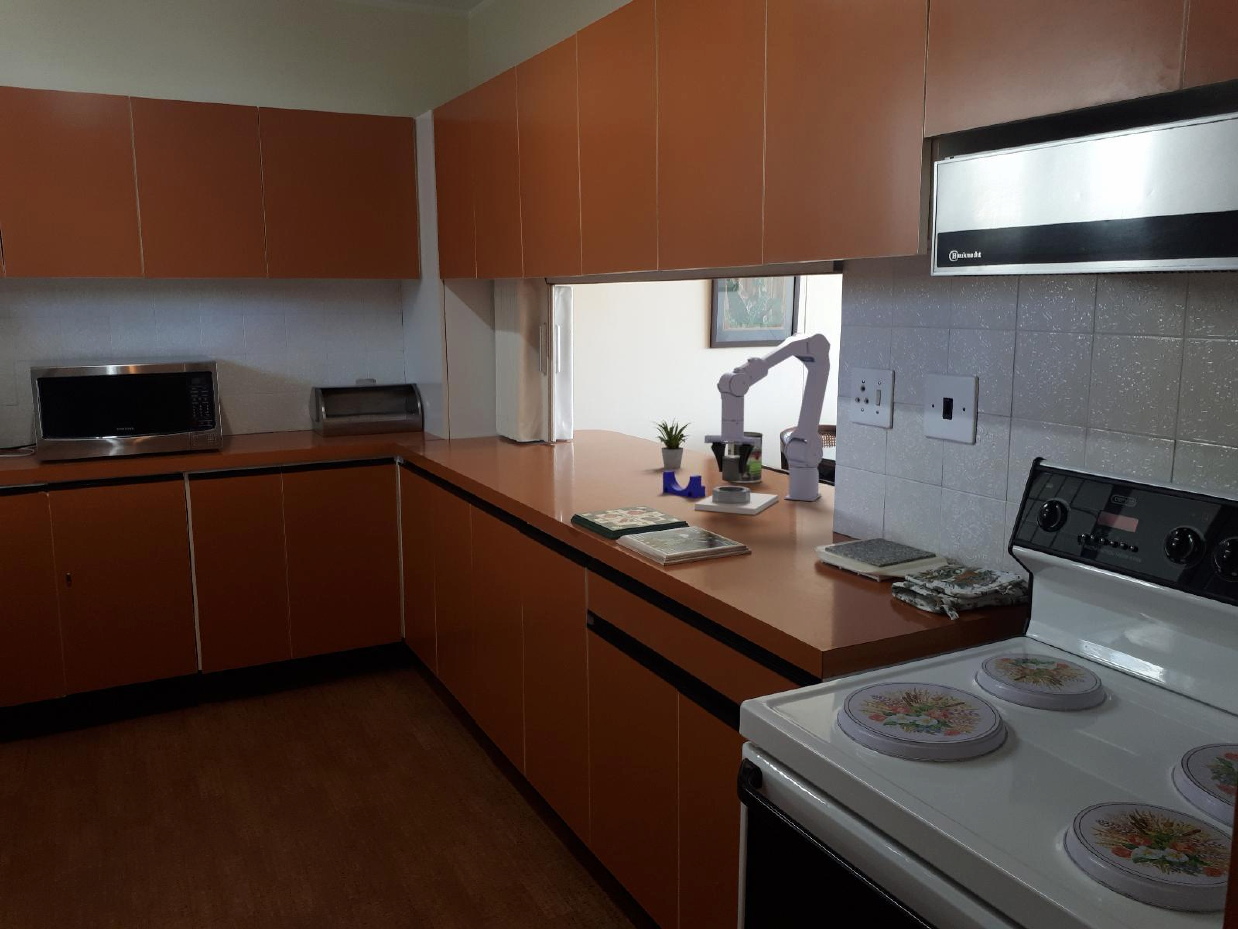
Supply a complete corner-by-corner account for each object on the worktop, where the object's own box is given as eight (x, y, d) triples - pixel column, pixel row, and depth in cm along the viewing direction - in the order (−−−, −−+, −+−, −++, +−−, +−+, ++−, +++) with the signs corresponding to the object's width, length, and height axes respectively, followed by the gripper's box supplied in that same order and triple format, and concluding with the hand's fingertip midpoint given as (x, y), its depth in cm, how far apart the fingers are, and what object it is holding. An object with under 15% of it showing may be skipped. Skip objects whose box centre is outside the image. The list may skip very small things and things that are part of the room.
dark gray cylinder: (725, 477, 260) (726, 454, 259) (744, 478, 258) (744, 455, 257) (719, 480, 255) (719, 457, 254) (737, 481, 253) (738, 458, 252)
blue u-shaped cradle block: (705, 496, 271) (705, 475, 270) (693, 498, 268) (693, 477, 267) (674, 490, 280) (674, 469, 279) (662, 492, 277) (662, 471, 276)
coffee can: (769, 480, 295) (770, 433, 292) (745, 484, 288) (745, 436, 286) (743, 476, 302) (744, 430, 300) (719, 480, 296) (720, 433, 294)
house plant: (640, 469, 315) (640, 418, 313) (652, 463, 328) (652, 414, 326) (684, 471, 311) (684, 420, 308) (694, 465, 324) (695, 415, 321)
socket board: (721, 496, 271) (721, 479, 271) (778, 500, 264) (778, 484, 264) (694, 509, 253) (694, 492, 253) (754, 514, 247) (755, 497, 246)
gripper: (700, 420, 253) (700, 472, 256) (755, 422, 247) (754, 476, 249) (710, 417, 260) (709, 468, 262) (763, 419, 254) (762, 472, 256)
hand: (731, 472), depth 256 cm, fingers closed on dark gray cylinder, 5 cm apart
